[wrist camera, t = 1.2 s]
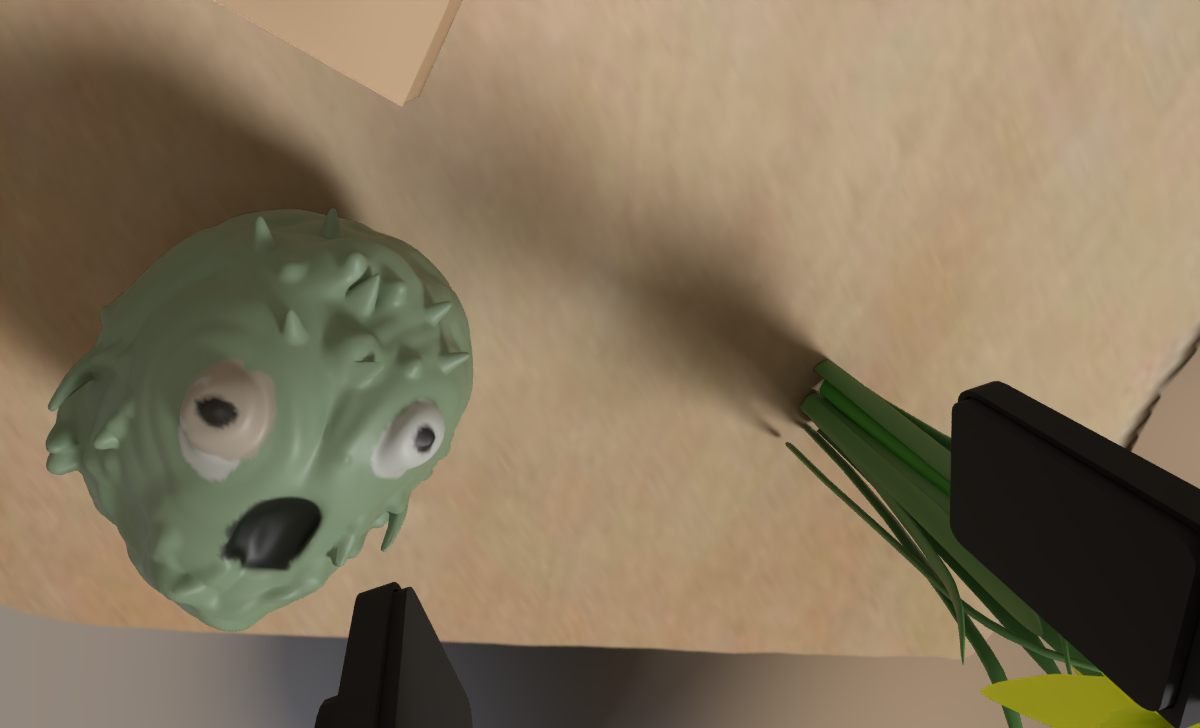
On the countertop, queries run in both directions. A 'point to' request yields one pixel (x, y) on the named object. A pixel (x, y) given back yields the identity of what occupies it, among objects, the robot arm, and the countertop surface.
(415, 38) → the lid
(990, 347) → the countertop surface
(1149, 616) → the robot arm
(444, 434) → the green lumpy rounded blob
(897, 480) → the daffodil flowers
